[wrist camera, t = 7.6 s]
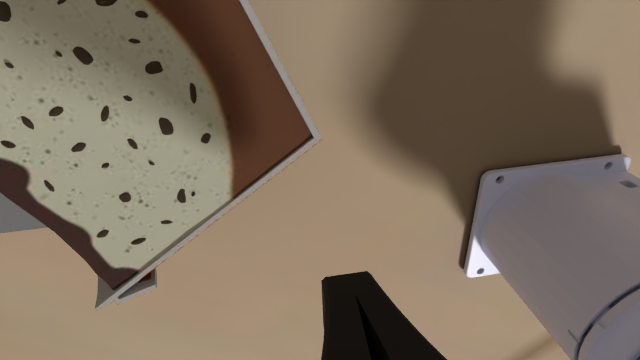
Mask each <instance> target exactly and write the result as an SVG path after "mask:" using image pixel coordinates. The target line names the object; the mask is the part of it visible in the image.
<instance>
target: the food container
mask: <svg viewBox="0 0 640 360" xmlns="http://www.w3.org/2000/svg"><path fill="white" fill-rule="evenodd" d="M321 140H322V138H321V136H320V135H319V133H318V131H317V129H316V127H315V125H314V123H313V121H312V119H311V118H310V116H309V114H308V112H307V110H306V108H305V106H304V104H303V103H302V101H301V99H300V97H299V95H298V93H297V91H296V89H295V88H294V86H293V84H292V82H291V80H290V78H289V76H288V74H287V72H286V71H285V69H284V67H283V65H282V63H281V61H280V59H279V57H278V56H277V54H276V52H275V50H274V48H273V46H272V44H271V42H270V41H269V39H268V37H267V35H266V33H265V31H264V29H263V27H262V26H261V24H260V22H259V20H258V18H257V16H256V14H255V12H254V10H253V9H252V7H251V5H250V3H249V1H248V0H0V193H1V194H3V195H4V196H5V197H6V198H8V199H9V200H10V201H12V202H13V203H15V204H16V205H17V206H19V207H20V208H22V209H23V210H25V211H26V212H27V213H29V214H30V215H32V216H33V217H34V218H36V219H37V220H39V221H40V222H41V223H43V224H44V225H46V226H47V227H48V228H50V229H51V230H53V231H54V232H55V233H56V234H57V235H58V236H60V237H61V238H62V239H63V240H64V241H65V242H66V243H67V244H68V245H69V246H70V247H71V248H72V249H74V250H75V251H76V252H77V253H78V254H79V255H80V256H81V257H82V258H83V259H84V260H85V261H86V262H87V263H88V264H89V265H90V267H91V268H92V269H93V270H94V271H95V273H96V274H97V275H98V295H97V300H96V305H95V310H98V309H100V308H101V307H103V306H105V305H107V304H108V303H110V302H112V301H115V303H116V304H117V305H118V304H120V303H123V302H125V301H127V300H130V299H132V298H134V297H137V296H139V295H141V294H144V293H146V292H148V291H151V290H153V289H155V288H157V273H156V267H157V266H158V265H160V264H161V263H162V262H164V261H165V260H166V259H167V258H169V257H170V256H171V255H173V254H174V253H175V252H177V251H178V250H179V249H180V248H182V247H183V246H184V245H186V244H187V243H188V242H189V241H191V240H192V239H193V238H195V237H196V236H197V235H199V234H200V233H201V232H202V231H204V230H205V229H206V228H208V227H209V226H210V225H212V224H213V223H214V222H215V221H217V220H218V219H219V218H221V217H222V216H223V215H225V214H226V213H227V212H228V211H230V210H231V209H232V208H234V207H235V206H236V205H238V204H239V203H240V202H241V201H243V200H244V199H245V198H247V197H248V196H249V195H251V194H252V193H253V192H254V191H256V190H257V189H258V188H260V187H261V186H262V185H263V184H265V183H266V182H267V181H269V180H270V179H271V178H273V177H274V176H275V175H276V174H278V173H279V172H280V171H282V170H283V169H284V168H286V167H287V166H288V165H289V164H291V163H292V162H293V161H295V160H296V159H297V158H299V157H300V156H301V155H302V154H304V153H305V152H306V151H308V150H309V149H310V148H312V147H313V146H314V145H315V144H317V143H318V142H319V141H321Z"/></svg>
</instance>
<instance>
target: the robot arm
mask: <svg viewBox="0 0 640 360" xmlns="http://www.w3.org/2000/svg"><path fill="white" fill-rule="evenodd" d="M630 161H631V159H630V157H628V156H627V155H625V154H618V155H610V156H602V157H594V158H586V159H578V160H570V161H562V162H553V163H545V164H537V165H529V166H521V167H513V168H505V169H497V170H490V171H487V172H485V173H484V174H483V175H482V177H481V181H480V186H479V192H478V197H477V202H476V208H475V213H474V218H473V224H472V229H471V234H470V240H469V245H468V251H467V256H466V261H465V267H464V273H465V274H466V276H467V277H469V278H472V277H479V276H485V275H491V274H497V273H501V275H502V276H503V277H504V278H505V280H506V281H507V282H508V283H509V284H510V286H511V287H512V288H513V289H514V291H515V292H516V293H517V294H518V295H519V297H520V298H521V299H522V300H523V302H524V303H525V304H526V305H527V306H528V308H529V309H530V310H531V311H532V313H533V314H534V315H535V316H536V317H537V319H538V320H539V321H540V322H541V324H542V325H543V326H544V327H545V328H546V330H547V331H548V332H549V333H550V335H551V336H552V337H553V338H554V339H555V341H556V342H557V343H558V344H559V346H560V347H561V348H562V349H563V351H564V352H565V353H566V354H567V355H568V357H569V358H570V359H571V360H640V179H639V178H637V177H636V176H634V175H632V174H630V173H628V172H627V170H628V167H629V165H630ZM499 176H500V178H499V179H498V180H496V179H497V178H498V177H499ZM322 300H323V323H324V343H323V351H322V358H321V360H447V359H446V358H445V357H444V356H443V355H442V354H441V353H440V352H439V351H438V350H437V349H436V348H434V347H433V346H432V345H431V344H430V343H429V342H428V341H427V340H426V339H425V337H424V336H423V335H422V334H421V333H420V332H419V331H418V330H417V329H416V328H415V327H414V326H413V325H412V324H411V323H410V321H409V320H408V319H407V318H406V317H405V316H404V315H403V314H402V313H401V311H400V310H399V309H398V308H397V307H396V306H395V304H394V303H393V302H392V301H391V300H390V298H389V297H388V296H387V295H386V293H385V292H384V291H383V290H382V288H381V287H380V286H379V285H378V283H377V282H376V281H375V279H374V278H373V277H372V275H371V274H370V273H369V272H367V271H365V272H358V273H351V274H344V275H337V276H330V277H325V278H324V279H323V280H322Z"/></svg>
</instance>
